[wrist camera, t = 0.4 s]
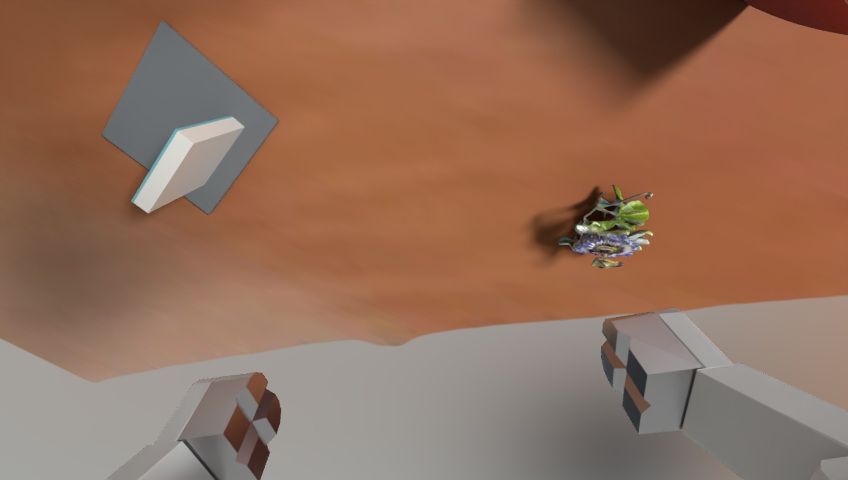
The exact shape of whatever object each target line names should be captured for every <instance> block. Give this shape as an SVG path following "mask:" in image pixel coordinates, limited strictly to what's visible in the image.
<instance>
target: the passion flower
mask: <svg viewBox="0 0 848 480" xmlns="http://www.w3.org/2000/svg"><path fill="white" fill-rule="evenodd" d="M612 186H613V188H614V191H615V194H616V199H615V201H614V202H613V203H609V202H608V201H607V200H605V199H604V198H603V196H602V195H603V192H601V195H600V199H599V201H598V203H597V204H595V208H594V209H593V210H592V211H590V212H589V213H588V214H586V215H585V216H584V217H583V218H582V220H581V221H580V223H579V224H575V226H574V229H575V231H576V232H578V233H579V234H580V235H575V236H574V237H573V239H570V238H568V237H561V238H560V239H559V240H558V244H559V245H570V246H571V248H572V250H573V251H575V252H579V253H580V254H582V255H583V254H585V253H589V254H595V255H597V254H601V255H602V256H603V258H602V257H598V258H595V260H594V261H593V263H592V264H591V265H592V266H598V267H599V268H609V267H619V266H623V265H624V264H623V263H621V262H617V261H612V260H608V259H607V258H615V257H616V256H618V255H619V256H624V257H626V256H629V255H633V254H632V253H633V251H636V250H641V247H640V245H639V244H649V241H648V240H647V239H646V238H645V237H644V236H643V237H641V236H642V235H645V234H646V233H648V234H650V235H651V236H652V232H650V231H648V230H639V231H635V225H637V226H643V225H644V221H646V220H648V217H649V213H648V208H647V207H646V206H645V205H644V204H643V203H641V202H640V201H639V200H633V201H631V202H628V203H626V204H623V202H624V201H627V200H631V199H633V198H635V197H639V196H641V195H644V194H647V195H646V196H645V198H646V199H650V198H651V196H652V195H653V194H652V193H642V194H638V195H635V196H632V197H630V198H627V199H625V200H623V198H622V195H621V192H620V190H619V189H618V188H617V187H616V186H615V185H612ZM612 205H615V206H616V209H615V210H614V211H608V210H606V209H604V208H605V207H608V206H612ZM595 210H599V211H601V212H602V214H603V218H604V221H596V222H595V221H588V220H587V219H586V217H587V216H589V215H591V214H592V213H593V212H594V211H595ZM607 213H609V214H611V215H613V216H614V218H613V219H611V220H609V221H606V218H605V215H606V214H607ZM615 225H617V227H618V230H613V231H608V230H609V229H610V228H612V227H614V226H615ZM634 254H635V253H634Z"/></svg>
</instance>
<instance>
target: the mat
mask: <svg viewBox="0 0 848 480" xmlns="http://www.w3.org/2000/svg"><path fill="white" fill-rule="evenodd" d="M227 116H232V117H233V118H235V119H236V120H237V121H238V122H239V123H241V124H242V125H243V126H244V127H245V128H244V129H243V130H242V132H241V133H240V135H239V136H238V138H237V139H236V140H235V142H234V143H233V145H232V146H231V148H230V149H229V150H228V152H227V153H226V155H225V156H224V158H223V159H222V160H221V162H220V163H219V165H218V166H217V168H216V169H215V170H214V172H213V173H212V175H211V176H210V178H209V179H208V180H207V182H206V183H205V185H203V186H201V187H199V188H197V189H195V190H193V191H191V192H189V193H187V194H185V195H183V196H184V197H186V198H187V199H188V200H190V201H191V202H192V203H194V204H195V205H196V206H198V207H199V208H200V209H202V210H203V211H204V212H206V213H207V214H208V215H209V214H211V213H212V211H213V210H214V209H215V207H216V206H217V205H218V203H219V202H220V201H221V199H222V198H223V197H224V195H225V194H226V192H227V191H228V190H229V188H230V187H231V186H232V184H233V183H234V182H235V180H236V179H237V178H238V176H239V175H240V174H241V172H242V171H243V169H244V168H245V167H246V165H247V164H248V163H249V161H250V160H251V159H252V157H253V156H254V155H255V153H256V152H257V150H258V149H259V148H260V146H261V145H262V144H263V142H264V141H265V140H266V138H267V137H268V136H269V134H270V133H271V132H272V130H273V129H274V127H275V126H276V125H277V123H278V122H279V120H277V119H276V118H275V117H274V116H273V115H272V114H271V113H269V112H268V111H267V110H266V109H265V108H264V107H263V106H261V105H260V104H259V103H258V102H257V101H256V100H255V99H253V98H252V97H251V96H250V95H249V94H248V93H247V92H245V91H244V90H243V89H242V88H241V87H240V86H239V85H237V84H236V83H235V82H234V81H233V80H232V79H230V78H229V77H228V76H227V75H226V74H225V73H224V72H222V71H221V70H220V69H219V68H218V67H217V66H216V65H214V64H213V63H212V62H211V61H210V60H209V59H208V58H206V57H205V56H204V55H203V54H202V53H201V52H200V51H198V50H197V49H196V48H195V47H194V46H193V45H192V44H190V43H189V42H188V41H187V40H186V39H185V38H184V37H182V36H181V35H180V34H179V33H178V32H177V31H176V30H174V29H173V28H172V27H171V26H170V25H169V24H167V23H166V22H165V21H161V23H160V25H159V26H158V28H157V30H156V32H155V34H154V36H153V38H152V40H151V42H150V44H149V45H148V47H147V49H146V51H145V53H144V55H143V57H142V59H141V61H140V63H139V65H138V66H137V68H136V70H135V72H134V74H133V76H132V78H131V80H130V82H129V84H128V85H127V87H126V89H125V91H124V93H123V95H122V97H121V99H120V101H119V103H118V104H117V106H116V108H115V110H114V112H113V114H112V116H111V118H110V120H109V122H108V124H107V125H106V127H105V129H104V131H103V133H102V136H104V137H105V138H106V139H108V140H109V141H110V142H112V143H113V144H114V145H116V146H117V147H118V148H120V149H121V150H122V151H124V152H125V153H126V154H128V155H129V156H130V157H132V158H133V159H134V160H136V161H137V162H138V163H140V164H141V165H143V166H144V167H145V168H147V169H148V170H149V171H150V170H151V168H152V166H153V165H154V163H155V161H156V160H157V158H158V157H159V155H160V153H161V152H162V150H163V148H164V147H165V145H166V144H167V142H168V140H169V139H170V137H171V135H172V134H173V132H174V131H175V129H178V128H182V127H186V126H190V125H194V124H198V123H202V122H206V121H210V120H214V119H219V118H223V117H227Z"/></svg>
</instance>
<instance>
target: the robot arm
mask: <svg viewBox="0 0 848 480" xmlns="http://www.w3.org/2000/svg"><path fill="white" fill-rule="evenodd" d="M602 333H603V334H604V336H605V338H606V339H607V341H606V342H605V343H604V344H603V345H602V346H601V359H602V364H603V369H604V372H605V374H606V377H607V379H608V381H609V383H610V385H611V386H612V388H613V389H615V390H616V391H618V392H619V393H621V394H623V403H622V406H623V408H624V410H625V412H626V413H627V415H628V417H629V419H630V420H631V422H632V424H633V426H634V427H635V429H636V431H637V433H638V434H646V433H656V432H666V431H675V430H682V431H681V432H682V433H683V434H684V435H686V436H687V437H688V438H690V439H691V440H692V441H694V442H695V443H696V444H698V445H699V446H700V447H702V448H703V449H704V450H705V451H707V452H708V453H709V454H711V455H712V456H713V457H715V458H716V459H717V460H719V461H720V462H721V463H722V464H724V465H725V466H726V467H728V468H729V469H731V470H732V471H733V472H734V473H736V474H737V475H738V476H740V477H741V478H742V479H744V480H848V412H847V411H845V410H843V409H841V408H838V407H836V406H834V405H832V404H830V403H828V402H825V401H823V400H821V399H819V398H817V397H815V396H812V395H810V394H808V393H806V392H804V391H801V390H799V389H797V388H795V387H792V386H790V385H788V384H786V383H784V382H781V381H779V380H777V379H775V378H773V377H770V376H768V375H766V374H764V373H762V372H760V371H757V370H755V369H753V368H751V367H749V366H746V365H744V364H742V363H740V364H733V363H732V362H731V361H730V360H729V359H728V358H727V357H726V356H725V355H724V354H723V353H722V352H721V351H720V350H719V349H718V348H717V347H716V346H715V345H714V344H713V343H712V342H711V341H710V340H709V339H708V338H707V337H706V336H705V335H704V333H703V332H702V331H701V330H700V329H699V328H698V327H697V326H696V325H695V324H694V323H693V322H692V321H691V320H690V319H689V318H688V317H687V316H686V315H685V314H684V313H683V312H682V311H681V310H679V309H677V308H671V309H665V310H659V311H653V312H647V313H640V314H634V315H628V316H622V317H616V318H609V319H605V321H604V323H603V328H602ZM267 384H268V381H267V379H266V378H265V376H264V375H263V374H262V373H258V372H255V373H247V374H240V375H231V376H223V377H218V378H211V379H202V380H199V381H197V382H196V383H194V384H193V385H192V386H191V387H190V389H189V391H188V392H187V394H186V395H185V397H184V398H183V400H182V401H181V403H180V404H179V406H178V407H177V409H176V410H175V412H174V414H173V415H172V417H171V418H170V420H169V421H168V423H167V425H166V426H165V427H164V429H163V430H162V432H161V434H160V435H159V437H158V438H157V440H156V441H155V443H154V444H153V445H149V446H146V447H145V448H143V449H142V450H141V451H140V452H139V453H137V454H136V455H135V456H134V457H133V458H131V459H130V460H129V461H128V462H126V463H125V464H124V465H123V466H121V467H120V468H119V469H118V470H117V471H115V472H114V473H113V474H112V475H110V476H109V477H108V478H107V479H106V480H260V479H261V476H262V473H263V471H264V468H265V465H266V462H267V460H268V457H269V454H270V452H269V449H268V446H267V444H268V443H269V441H271V439H272V438H273V437H274V436H275V435H276V434H277V431H278V428H279V425H280V419H281V408H280V403H279V400H278V398H277V396H276V395H275V394H274V393H272V392H270V391H269V390H267V389H266V386H267Z"/></svg>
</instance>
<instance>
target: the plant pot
mask: <svg viewBox="0 0 848 480" xmlns="http://www.w3.org/2000/svg"><path fill="white" fill-rule="evenodd" d="M743 1H744V2H745V3H747V4H749V5H751V6H752V7H754V8H756V9H759V10H761V11H763V12H766V13H768V14H770V15H773V16H776V17H778V18H781V19H784V20H787V21H790V22H793V23H796V24H799V25H803V26H807V27H811V28H815V29H819V30H823V31H829V32H834V33H838V34H844V35H848V0H743Z"/></svg>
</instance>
